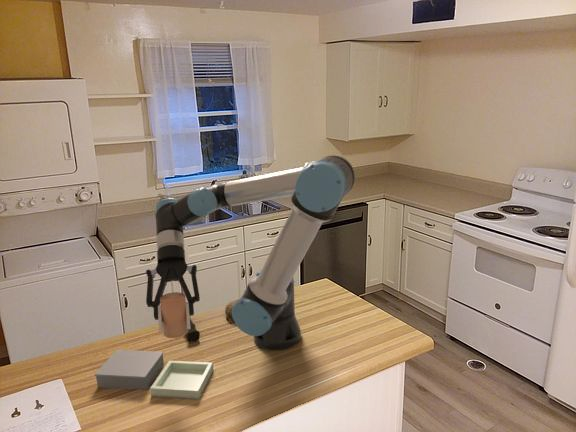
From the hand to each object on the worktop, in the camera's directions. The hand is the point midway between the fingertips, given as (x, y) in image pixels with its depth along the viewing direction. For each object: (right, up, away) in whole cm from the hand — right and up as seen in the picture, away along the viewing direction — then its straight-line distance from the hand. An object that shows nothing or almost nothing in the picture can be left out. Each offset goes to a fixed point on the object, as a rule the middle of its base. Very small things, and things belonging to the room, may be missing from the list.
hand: (174, 329), depth 118 cm
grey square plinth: (-15, -16, +12) cm, 25 cm away
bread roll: (+12, -7, +46) cm, 48 cm away
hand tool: (-5, -10, +37) cm, 39 cm away
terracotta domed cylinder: (-1, -2, +4) cm, 4 cm away
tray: (0, -17, +8) cm, 18 cm away
